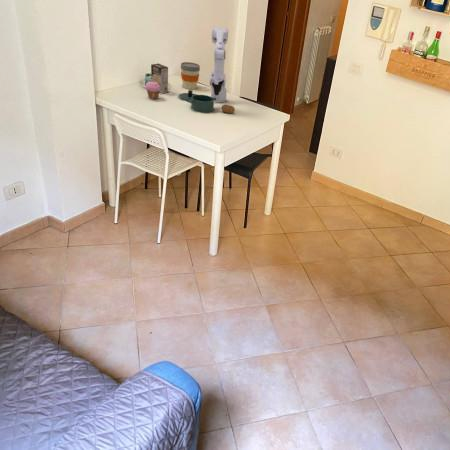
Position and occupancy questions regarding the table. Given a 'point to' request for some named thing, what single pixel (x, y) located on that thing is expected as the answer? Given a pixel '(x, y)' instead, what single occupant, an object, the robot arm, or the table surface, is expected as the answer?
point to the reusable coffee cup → (190, 74)
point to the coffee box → (160, 76)
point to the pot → (202, 103)
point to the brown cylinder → (227, 108)
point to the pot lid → (186, 95)
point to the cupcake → (153, 89)
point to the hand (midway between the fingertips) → (217, 93)
